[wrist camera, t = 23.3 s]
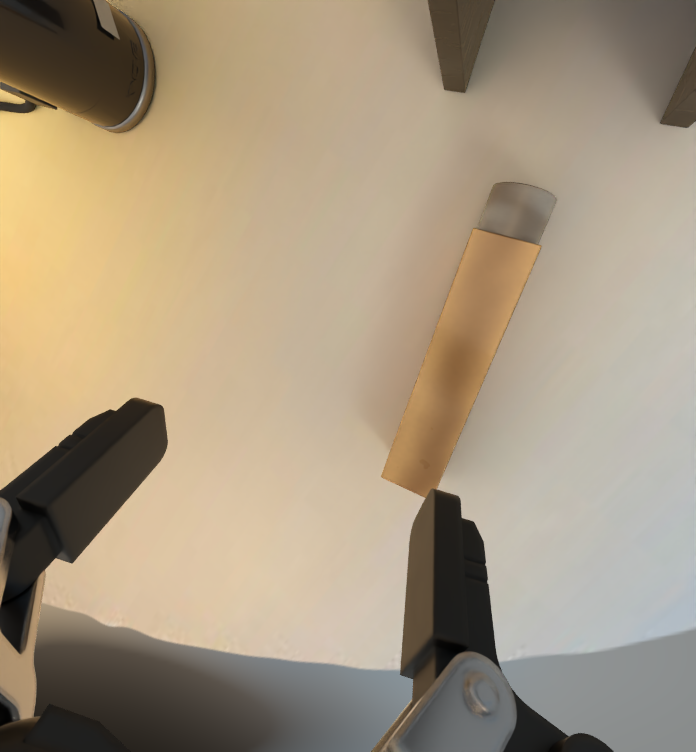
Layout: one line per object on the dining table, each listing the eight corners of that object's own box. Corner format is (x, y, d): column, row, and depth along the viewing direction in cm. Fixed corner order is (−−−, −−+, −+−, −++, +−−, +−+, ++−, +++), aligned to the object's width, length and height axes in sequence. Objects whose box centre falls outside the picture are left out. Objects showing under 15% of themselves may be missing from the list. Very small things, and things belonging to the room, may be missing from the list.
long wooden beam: (392, 455, 33) (380, 477, 29) (490, 193, 26) (492, 175, 22) (437, 476, 32) (431, 501, 28) (552, 208, 25) (565, 192, 21)
